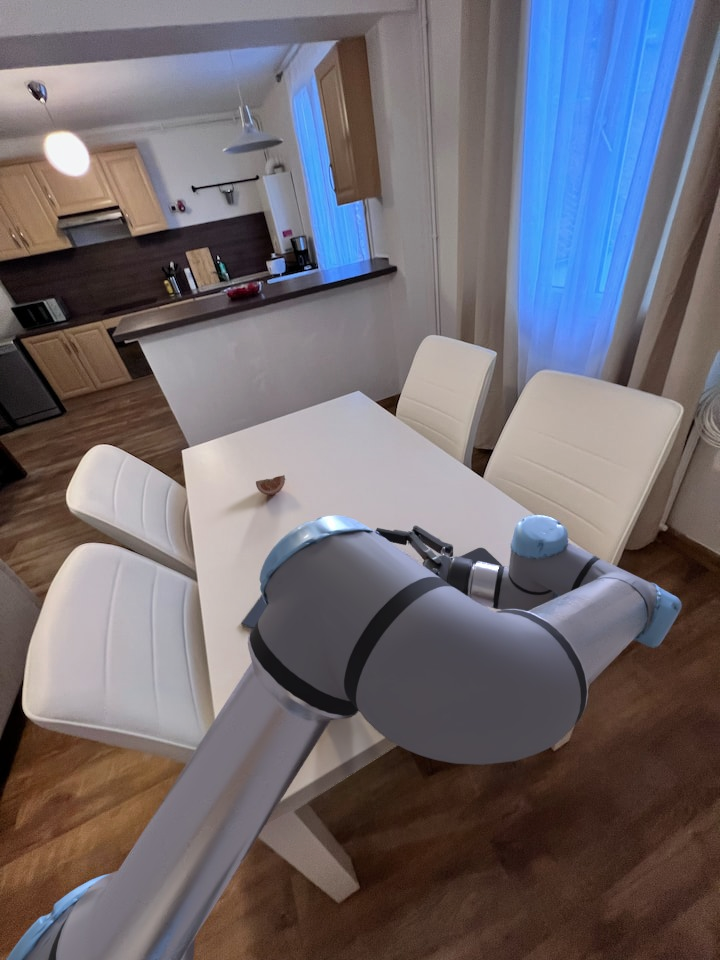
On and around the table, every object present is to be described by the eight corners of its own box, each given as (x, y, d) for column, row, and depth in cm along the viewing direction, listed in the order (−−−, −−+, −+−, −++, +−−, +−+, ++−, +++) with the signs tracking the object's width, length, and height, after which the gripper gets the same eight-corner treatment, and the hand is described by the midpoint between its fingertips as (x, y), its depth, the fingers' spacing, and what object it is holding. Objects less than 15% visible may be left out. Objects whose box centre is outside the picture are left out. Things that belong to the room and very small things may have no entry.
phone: (423, 573, 85) (481, 545, 88) (423, 576, 85) (481, 548, 89) (443, 598, 79) (505, 567, 83) (443, 601, 79) (504, 570, 83)
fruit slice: (287, 482, 121) (283, 468, 118) (289, 495, 115) (284, 481, 112) (260, 488, 120) (255, 475, 117) (260, 502, 114) (255, 488, 112)
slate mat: (282, 639, 77) (281, 637, 77) (241, 624, 82) (241, 623, 81) (308, 598, 85) (307, 596, 84) (269, 586, 89) (268, 585, 88)
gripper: (455, 653, 66) (341, 618, 74) (483, 547, 84) (388, 528, 92) (455, 626, 62) (334, 592, 70) (484, 520, 79) (384, 503, 88)
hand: (364, 556), depth 81 cm, fingers open, 13 cm apart
